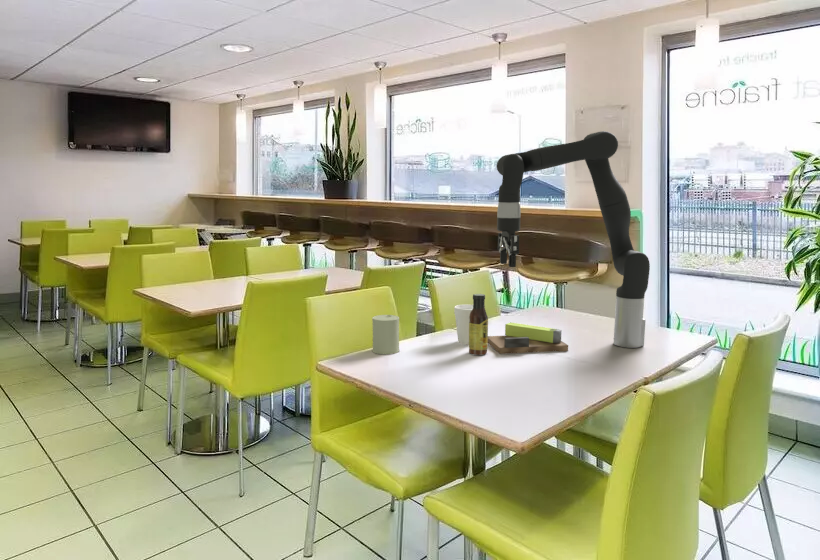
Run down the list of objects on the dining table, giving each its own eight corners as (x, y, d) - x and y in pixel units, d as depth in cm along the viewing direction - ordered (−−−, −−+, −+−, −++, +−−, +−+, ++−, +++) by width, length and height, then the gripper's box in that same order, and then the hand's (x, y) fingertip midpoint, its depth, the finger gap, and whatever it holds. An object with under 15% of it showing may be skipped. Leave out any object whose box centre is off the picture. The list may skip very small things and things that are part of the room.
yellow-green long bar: (562, 341, 197) (563, 329, 196) (558, 343, 194) (558, 332, 193) (510, 333, 208) (510, 322, 208) (505, 335, 205) (505, 324, 205)
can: (404, 349, 196) (404, 314, 194) (391, 355, 187) (391, 320, 186) (380, 345, 200) (380, 312, 198) (367, 352, 191) (367, 317, 189)
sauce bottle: (486, 356, 187) (488, 296, 184) (467, 355, 188) (468, 296, 185) (488, 351, 193) (489, 293, 190) (469, 350, 194) (470, 292, 191)
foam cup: (450, 344, 202) (450, 308, 200) (458, 338, 210) (458, 303, 208) (476, 347, 198) (477, 310, 196) (483, 340, 206) (484, 305, 205)
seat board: (549, 339, 209) (549, 325, 208) (568, 350, 193) (568, 336, 193) (486, 341, 205) (486, 328, 204) (500, 353, 190) (500, 339, 189)
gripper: (527, 217, 181) (526, 267, 183) (512, 215, 195) (511, 262, 197) (505, 217, 179) (503, 268, 182) (491, 215, 193) (490, 263, 196)
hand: (507, 265), depth 189 cm, fingers open, 8 cm apart
